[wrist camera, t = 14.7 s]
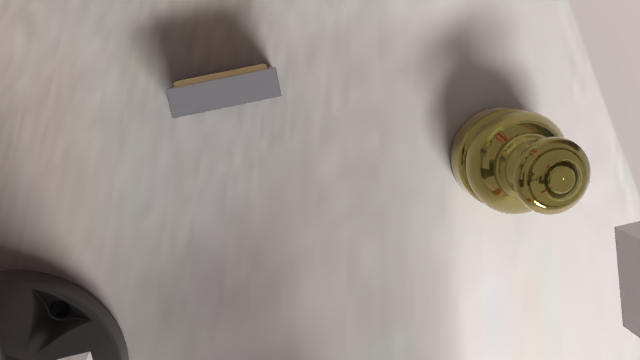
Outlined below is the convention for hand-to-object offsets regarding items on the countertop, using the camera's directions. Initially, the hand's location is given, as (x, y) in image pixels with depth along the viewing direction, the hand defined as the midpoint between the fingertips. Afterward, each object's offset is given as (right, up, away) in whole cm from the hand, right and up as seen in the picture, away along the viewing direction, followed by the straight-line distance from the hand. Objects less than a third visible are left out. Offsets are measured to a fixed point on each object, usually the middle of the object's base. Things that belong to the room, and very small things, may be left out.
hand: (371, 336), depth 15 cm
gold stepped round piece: (+12, +6, +32) cm, 35 cm away
